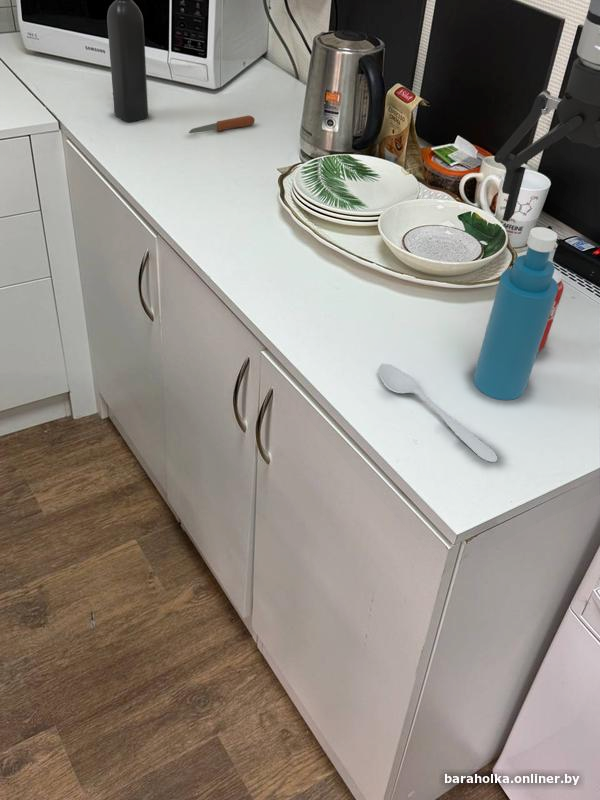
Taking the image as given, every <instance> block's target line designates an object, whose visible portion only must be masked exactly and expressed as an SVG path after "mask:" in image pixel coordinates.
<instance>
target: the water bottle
mask: <svg viewBox="0 0 600 800" xmlns="http://www.w3.org/2000/svg"><path fill="white" fill-rule="evenodd" d="M526 240H527V241H526V246H527V249H526V252H525V254H522V255H519V256H517V257H515V259H514V261H513V265H512V267H510V268H507V269H506V270H504V271H503V272H502V273H501V275H500V278H499V282H498V284H497V285H498V286H497V289H496V292H495V293H496V294H495V296H494V299H493V304H492V307H491V311H490V315H489V319H488V322H487V325H486V328H485V329H486V330H485V333H484V336H483V340H482V344H481V348H480V351H479V354H478V355H479V356H478V358H477V363H476V366H475V370H474V374H473V379H472V380H473V384H474V385H475V387H476V389H478V391H479V392H481V393H482V394H484V395H485V396H487V397H490V398H492V399H495V400H500V401H501V400H502V401H511V400H516V399H519V398H521V397H522V396H523V395H524V394H525V392H526V389H527V386H528V383H529V380H530V377H531V375H532V370H533V367H534V365H535V361H536V358H537V356H538V352H539V351H538V349H539V346H540V343H541V340H542V337H543V334H544V331H545V328H546V325H547V322H548V319H549V316H550V313H551V310H552V307H553V304H554V301H555V298H556V295H557V292H558V284H557V282H556V281H555V280H554V279H553V278H552V276H553V273H554V270H555V269H556V268H555V265H554V264H553V263H552V262H551V261H550V260H549V258H550V254H551V252H553V251H554V250H555V248H556V244H557V240H558V233H557V232H556V231H554V230H553V229H551V228H547V227H544V226H543V227H542V226H537V227H533V228H531V229H530V230H529V234H528V237H527V239H526Z"/></svg>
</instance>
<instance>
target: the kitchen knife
mask: <svg viewBox="0 0 600 800" xmlns="http://www.w3.org/2000/svg"><path fill="white" fill-rule="evenodd" d="M255 121H256V119H255V118H254V116H252V115H243V116H238V117H233V118H227V119H222V120H217V121H216V122H214V123H210V124H205V125H201V126H197V127H193V128H191V129H190V130H189V131H188V134H195V133H203V132H210V131H217V132H222V131H224V130H229V129H235V128H236V129H237V128H246V127H250V126H252V125H253V124H255Z"/></svg>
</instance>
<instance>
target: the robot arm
mask: <svg viewBox="0 0 600 800" xmlns="http://www.w3.org/2000/svg"><path fill="white" fill-rule="evenodd" d="M576 54H577V56H578V57H577V58H576V59H574V61H573V63H572V68H571V71H570V75H569V78H568V82H567V85H566V89H565V92H564V96H563V97H562V98H560V97H557V96H554V95H551V92H550V91H549V90H547V89H545V90H542V92H540V93H539V94H538V95H537V96H536V97H535V99H534V102H533V104H532V106H531V110H530V113H529V114H527V116H526V117H525V119H524V120H523V121H522V122H521V123H520V125H519V126H518V127H517V128H516V130H514V132H513V133H512V135H510V136H509V138H508V139H507V140H506V142H504V144H503V145H502V146H501V148H500V149H499V150H498V151H497V152H496V154H495V155H494V157H493V160H494V162H495V163H497V164H500V165H502V166H504V167H505V174H504V178H503V182H502V187H501V191H502V193H503V194H506V195H508V196H507V199H506V204H505V208H504V212H503V216H502V221H504V222H509V221H510V220H511V218H512V217H513V216H514V214H515V212H516V208H517V203H518V199H519V196H520V191H521V187H522V184H523V180H524V176H525V172H526V169H527V168H526V167H525V166H523V165H524V164H526V163H527V162H529V161H530V160H532V159H533V158H535V157H536V156H537V155H538V154H540V153H542V152H543V151H544V150H546V149H547V148H549V147H551V146H552V145H553V144H554V143H557V142H558V141H560V140H561V139H563V138H564V137H566V138H568V139H569V141H570V142H571V143H574V144H585V145H587V146H588V147H590V148H595V149H596V148H598V147H600V0H590V2H589V6H588V9H587V13H586V15H585V20H584V23H583V25H582V29H581V34H580V37H579V40H578V45H577V49H576ZM552 110H556V113H557V115H558V119H559V121H560V122H559V124H557V125H556V126H555V127H553V128H552V129H551V130H549V131H548V132H546V133H545V134H544V135H543V136H541V137H539V138H538V139H537V140H535V141H533V142H532V143H531V144H529V145H528V146H527V147H525V148H524V149H523V150H521V151H520V152H518V153H517V154H514V153H512V151H513V150H514V149H515V148H516V147H517V145H518V144H519V143H520V142H521V141H522V139H524V137H525V136H527V133H529V131H530V130H531V129H532V128H533V127H534V126H535V124H536V123H537V122H538V120H539V119H540V118H541V117H542V116H543V115H544V116H546V115H548V114H550V113H551V111H552Z"/></svg>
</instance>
